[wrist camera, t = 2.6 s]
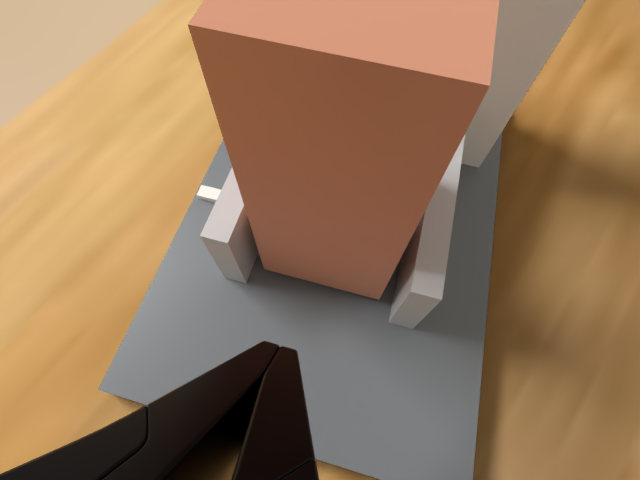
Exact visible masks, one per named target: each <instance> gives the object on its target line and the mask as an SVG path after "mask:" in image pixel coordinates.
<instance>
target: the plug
mask: <svg viewBox="0 0 640 480" xmlns="http://www.w3.org/2000/svg"><path fill="white" fill-rule="evenodd" d="M498 9H499V0H204V1H203V2H202V4H201V5H200V7H199V8H198V10H197V11H196V13H195V14H194V16H193V17H192V19H191V20H190V22H189V23H188V26H189V30H190V33H191V36H192V39H193V43H194V46H195V49H196V52H197V55H198V59H199V62H200V65H201V68H202V71H203V75H204V78H205V81H206V84H207V88H208V91H209V94H210V97H211V100H212V104H213V107H214V110H215V113H216V116H217V120H218V123H219V126H220V129H221V133H222V136H223V139H224V142H225V145H226V149H227V152H228V155H229V158H230V161H231V165H232V168H233V171H234V174H235V178H236V181H237V184H238V187H239V190H240V194H241V197H242V200H243V203H244V206H245V210H246V213H247V216H248V219H249V223H250V226H251V229H252V232H253V235H254V239H255V242H256V245H257V248H258V251H259V255H260V258H261V261H262V264H263V268H264V269H266V270H269V271H273V272H277V273H280V274H284V275H288V276H292V277H295V278H299V279H303V280H307V281H310V282H314V283H318V284H321V285H325V286H329V287H333V288H336V289H340V290H344V291H347V292H351V293H355V294H359V295H362V296H366V297H370V298H373V299H377V300H379V299H380V297H381V295H382V293H383V291H384V290H385V288H386V286H387V284H388V282H389V280H390V278H391V276H392V274H393V272H394V270H395V268H396V266H397V264H398V262H399V261H400V259H401V257H402V255H403V253H404V251H405V249H406V247H407V245H408V243H409V241H410V239H411V237H412V235H413V233H414V232H415V230H416V228H417V226H418V224H419V222H420V220H421V218H422V216H423V214H424V212H425V210H426V208H427V206H428V204H429V203H430V201H431V199H432V197H433V195H434V193H435V191H436V189H437V187H438V185H439V183H440V181H441V179H442V177H443V175H444V174H445V172H446V170H447V168H448V166H449V164H450V162H451V160H452V158H453V156H454V154H455V152H456V150H457V148H458V146H459V145H460V143H461V141H462V139H463V137H464V135H465V133H466V131H467V129H468V127H469V125H470V123H471V121H472V119H473V117H474V116H475V114H476V112H477V110H478V108H479V106H480V104H481V102H482V100H483V98H484V96H485V94H486V92H487V90H488V88H489V87H490V80H491V72H492V63H493V54H494V45H495V36H496V27H497V18H498Z"/></svg>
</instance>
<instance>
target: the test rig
mask: <svg viewBox="0 0 640 480" xmlns="http://www.w3.org/2000/svg"><path fill="white" fill-rule="evenodd" d="M585 1H586V0H499V9H498V18H497V27H496V36H495V45H494V54H493V63H492V72H491V80H490V87H489V88H488V90H487V92H486V94H485V96H484V98H483V100H482V102H481V104H480V106H479V108H478V110H477V112H476V114H475V116H474V117H473V119H472V121H471V123H470V125H469V127H468V129H467V131H466V133H465V135H464V137H463V139H462V141H461V143H460V145H459V146H458V148H457V150H456V152H455V154H454V156H453V158H452V160H451V162H450V164H449V166H448V168H447V170H446V172H445V174H444V175H443V177H442V179H441V181H440V183H439V185H438V187H437V189H436V191H435V193H434V195H433V197H432V199H431V201H430V203H429V204H428V206H427V208H426V210H425V212H424V214H423V216H422V218H421V220H420V222H419V224H418V226H417V228H416V230H415V232H414V233H413V235H412V237H411V239H410V241H409V243H408V245H407V247H406V249H405V251H404V253H403V255H402V257H401V259H400V261H399V262H398V264H397V266H396V268H395V270H394V272H393V274H392V276H391V278H390V280H389V282H388V284H387V286H386V288H385V290H384V291H383V293H382V295H381V297H380V299H379V300H377V299H373V298H370V297H366V296H362V295H359V294H355V293H351V292H347V291H344V290H340V289H336V288H333V287H329V286H325V285H321V284H318V283H314V282H310V281H307V280H303V279H299V278H295V277H292V276H288V275H284V274H280V273H277V272H273V271H269V270H266V269H264V268H263V264H262V261H261V258H260V255H259V251H258V248H257V245H256V242H255V239H254V235H253V232H252V229H251V226H250V223H249V219H248V216H247V213H246V210H245V206H244V203H243V200H242V197H241V194H240V190H239V187H238V184H237V181H236V178H235V174H234V171H233V168H232V165H231V161H230V158H229V155H228V152H227V149H226V145H225V142H224V139H223V141H222V143H221V145H220V147H219V149H218V151H217V153H216V155H215V157H214V159H213V161H212V163H211V165H210V167H209V169H208V171H207V173H206V175H205V177H204V179H203V181H202V183H201V185H200V187H199V189H198V191H197V193H196V195H195V197H194V199H193V201H192V203H191V205H190V207H189V209H188V211H187V213H186V215H185V217H184V219H183V221H182V223H181V225H180V227H179V229H178V231H177V233H176V235H175V237H174V239H173V241H172V243H171V245H170V247H169V249H168V251H167V253H166V255H165V257H164V259H163V261H162V263H161V265H160V267H159V269H158V271H157V273H156V275H155V277H154V279H153V281H152V283H151V285H150V287H149V289H148V291H147V293H146V295H145V297H144V299H143V301H142V303H141V305H140V307H139V309H138V311H137V313H136V315H135V317H134V319H133V321H132V323H131V325H130V327H129V329H128V331H127V333H126V335H125V337H124V339H123V341H122V343H121V345H120V347H119V349H118V351H117V353H116V355H115V357H114V359H113V361H112V363H111V365H110V367H109V369H108V371H107V373H106V375H105V377H104V379H103V381H102V383H101V385H100V387H99V389H98V390H101V391H104V392H107V393H110V394H113V395H116V396H120V397H123V398H126V399H129V400H132V401H135V402H138V403H141V404H145V405H148V404H149V403H151V402H153V401H155V400H156V399H158V398H160V397H162V396H164V395H165V394H167V393H169V392H171V391H173V390H175V389H176V388H178V387H180V386H182V385H184V384H185V383H187V382H189V381H191V380H193V379H195V378H196V377H198V376H200V375H202V374H204V373H206V372H207V371H209V370H211V369H213V368H215V367H216V366H218V365H220V364H222V363H224V362H226V361H227V360H229V359H231V358H233V357H235V356H236V355H238V354H240V353H242V352H244V351H246V350H247V349H249V348H251V347H253V346H255V345H256V344H258V343H260V342H262V341H268V342H271V343H274V344H278V345H279V347H281V346H285V347H288V348H292V349H295V350H297V352H298V357H299V363H300V369H301V375H302V381H303V388H304V394H305V400H306V406H307V412H308V418H309V424H310V430H311V436H312V442H313V448H314V454H315V459H317V460H320V461H323V462H327V463H330V464H333V465H336V466H339V467H342V468H345V469H349V470H352V471H355V472H358V473H361V474H364V475H367V476H370V477H374V478H377V479H380V480H473V470H474V458H475V447H476V435H477V423H478V412H479V400H480V388H481V377H482V365H483V353H484V342H485V330H486V318H487V307H488V295H489V283H490V271H491V260H492V248H493V236H494V225H495V213H496V201H497V190H498V178H499V166H500V155H501V143H502V131H503V129H504V128H505V126H506V124H507V123H508V121H509V120H510V118H511V117H512V115H513V113H514V112H515V110H516V109H517V107H518V106H519V104H520V102H521V101H522V99H523V98H524V96H525V95H526V93H527V92H528V90H529V88H530V87H531V85H532V84H533V82H534V81H535V79H536V77H537V76H538V74H539V73H540V71H541V70H542V68H543V66H544V65H545V63H546V62H547V60H548V59H549V57H550V55H551V54H552V52H553V51H554V49H555V48H556V46H557V44H558V43H559V41H560V40H561V38H562V37H563V35H564V34H565V32H566V30H567V29H568V27H569V26H570V24H571V23H572V21H573V19H574V18H575V16H576V15H577V13H578V12H579V10H580V8H581V7H582V5H583V4H584V2H585Z"/></svg>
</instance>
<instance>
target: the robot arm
mask: <svg viewBox="0 0 640 480" xmlns="http://www.w3.org/2000/svg"><path fill="white" fill-rule="evenodd" d="M231 478H232V479H231ZM0 480H319V477H318V471H317V465H316V461H315V454H314V448H313V442H312V436H311V430H310V424H309V418H308V412H307V406H306V400H305V394H304V388H303V381H302V375H301V369H300V363H299V357H298V352H297V350H295V349H292V348H288V347H285V346H281V347H279V345H278V344H274V343H271V342H268V341H262V342H260V343H258V344H256V345H255V346H253V347H251V348H249V349H247V350H246V351H244V352H242V353H240V354H238V355H236V356H235V357H233V358H231V359H229V360H227V361H226V362H224V363H222V364H220V365H218V366H216V367H215V368H213V369H211V370H209V371H207V372H206V373H204V374H202V375H200V376H198V377H196V378H195V379H193V380H191V381H189V382H187V383H185V384H184V385H182V386H180V387H178V388H176V389H175V390H173V391H171V392H169V393H167V394H165V395H164V396H162V397H160V398H158V399H156V400H155V401H153V402H151V403H149V404H148V405H147V407H146V406H143V407H141V408H140V409H138V410H136V411H134V412H132V413H131V414H129V415H127V416H125V417H123V418H121V419H119V420H117V421H115V422H113V423H111V424H109V425H108V426H106V427H104V428H102V429H100V430H97V431H95V432H93V433H91V434H89V435H87V436H85V437H82V438H80V439H78V440H76V441H74V442H72V443H70V444H67V445H65V446H63V447H60V448H58V449H56V450H54V451H51V452H49V453H47V454H45V455H42V456H40V457H38V458H36V459H33V460H31V461H29V462H27V463H24V464H22V465H20V466H18V467H15V468H13V469H11V470H8V471H6V472H4V473H2V474H0Z"/></svg>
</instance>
